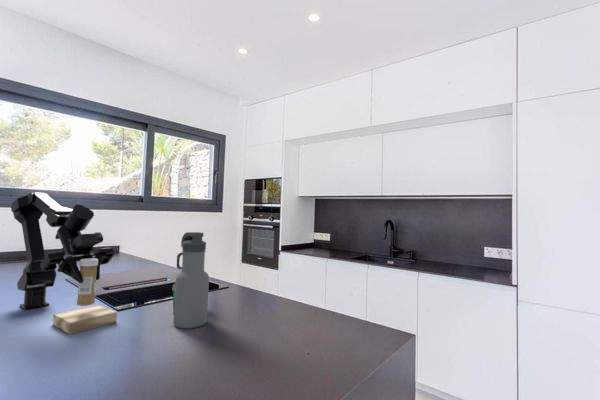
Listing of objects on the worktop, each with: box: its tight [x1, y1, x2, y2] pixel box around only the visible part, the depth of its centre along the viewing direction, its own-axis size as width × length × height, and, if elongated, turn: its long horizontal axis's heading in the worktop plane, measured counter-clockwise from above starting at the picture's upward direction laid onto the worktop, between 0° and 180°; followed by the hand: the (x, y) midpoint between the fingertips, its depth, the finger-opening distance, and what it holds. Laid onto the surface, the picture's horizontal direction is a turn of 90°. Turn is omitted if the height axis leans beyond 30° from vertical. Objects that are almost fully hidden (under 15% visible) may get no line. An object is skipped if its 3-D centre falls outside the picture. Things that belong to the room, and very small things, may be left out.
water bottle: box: [173, 231, 210, 330], centre depth 96 cm, size 10×10×28 cm
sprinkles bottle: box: [76, 258, 98, 307], centre depth 93 cm, size 5×5×13 cm
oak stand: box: [52, 304, 118, 335], centre depth 92 cm, size 12×12×3 cm
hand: (90, 280), depth 92 cm, fingers closed on sprinkles bottle, 4 cm apart
